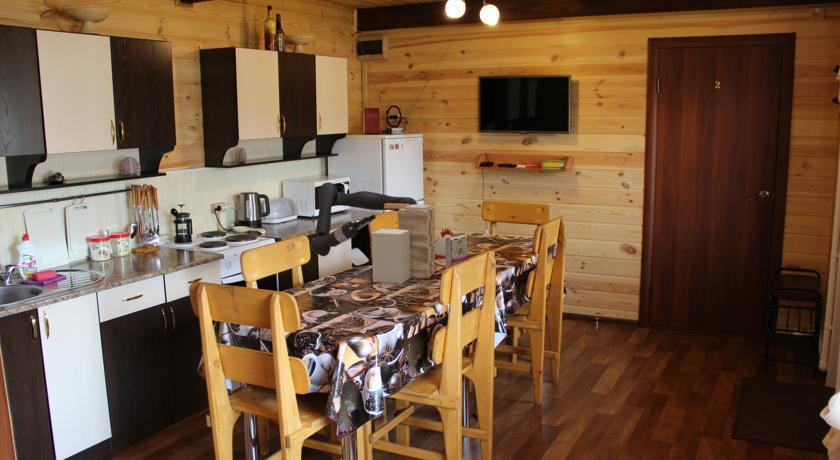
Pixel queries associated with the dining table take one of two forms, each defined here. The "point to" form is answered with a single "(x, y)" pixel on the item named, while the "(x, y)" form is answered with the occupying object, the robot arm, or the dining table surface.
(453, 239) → the candy bar box
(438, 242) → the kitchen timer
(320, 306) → the dining table surface
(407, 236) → the grey upright block
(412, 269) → the tall stand
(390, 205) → the turner
